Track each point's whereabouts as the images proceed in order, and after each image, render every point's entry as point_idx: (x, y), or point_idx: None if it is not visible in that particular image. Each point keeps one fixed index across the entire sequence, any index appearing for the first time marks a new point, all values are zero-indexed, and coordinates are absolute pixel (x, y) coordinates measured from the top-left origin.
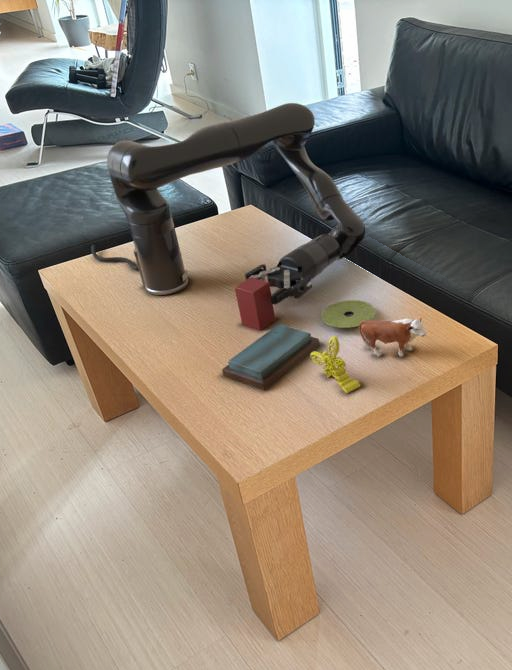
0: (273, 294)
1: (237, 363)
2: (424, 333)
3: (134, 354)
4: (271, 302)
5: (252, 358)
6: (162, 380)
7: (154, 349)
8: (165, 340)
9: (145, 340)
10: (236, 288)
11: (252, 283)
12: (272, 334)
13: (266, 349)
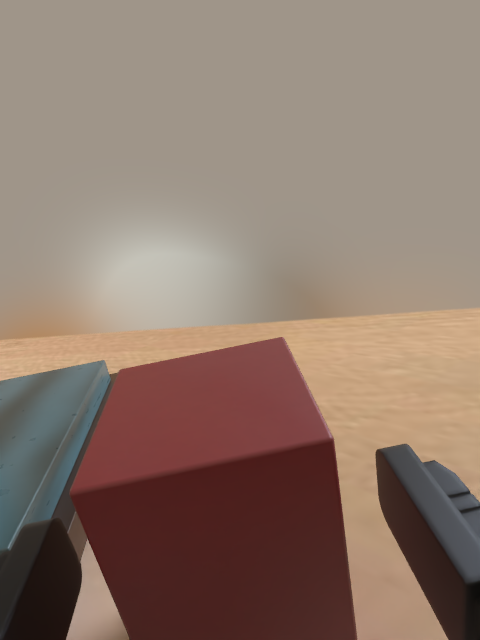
0: (32, 532)
1: (72, 367)
2: None
3: (400, 321)
4: (77, 556)
5: (37, 390)
6: (250, 332)
7: (390, 342)
8: (422, 362)
9: (460, 339)
10: (267, 343)
11: (212, 403)
12: (12, 478)
13: (5, 425)
